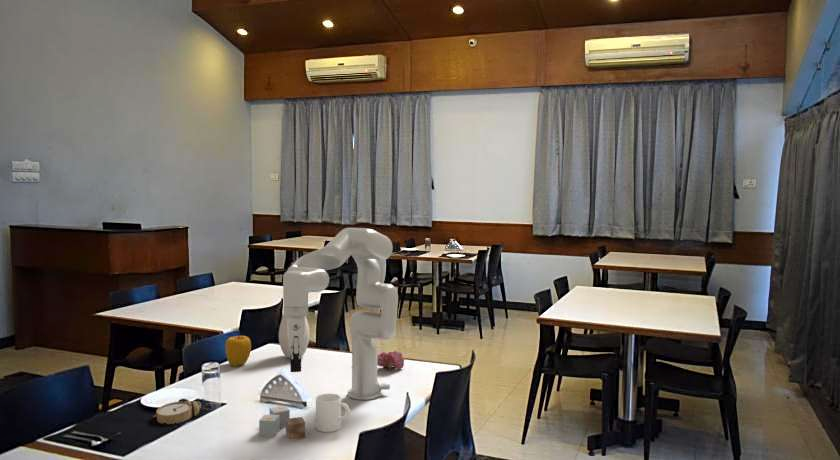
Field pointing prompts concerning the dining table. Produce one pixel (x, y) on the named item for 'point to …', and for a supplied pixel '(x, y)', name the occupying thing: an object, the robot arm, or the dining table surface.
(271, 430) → the block one
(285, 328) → the vase
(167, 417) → the alarm clock
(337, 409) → the mug
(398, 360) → the flower
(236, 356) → the apple
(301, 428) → the plain block
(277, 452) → the dining table surface
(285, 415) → the block two
